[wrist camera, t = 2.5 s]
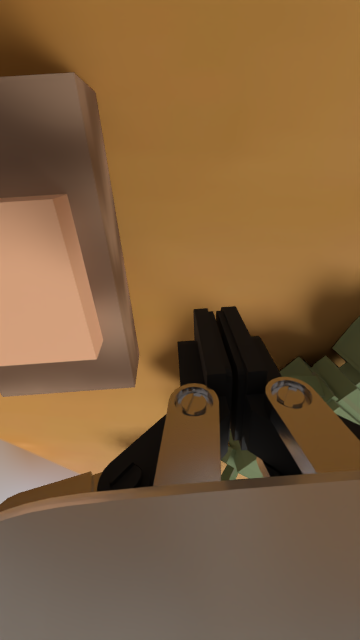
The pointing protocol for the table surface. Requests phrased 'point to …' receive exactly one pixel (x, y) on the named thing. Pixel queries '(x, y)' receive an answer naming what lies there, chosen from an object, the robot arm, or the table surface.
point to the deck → (88, 214)
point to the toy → (328, 381)
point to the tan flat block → (44, 285)
